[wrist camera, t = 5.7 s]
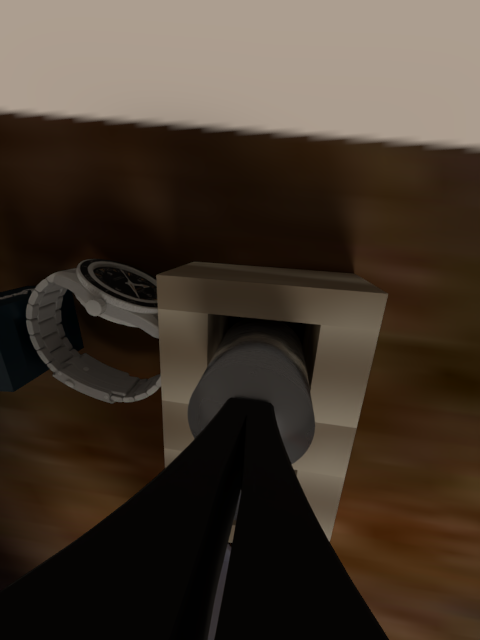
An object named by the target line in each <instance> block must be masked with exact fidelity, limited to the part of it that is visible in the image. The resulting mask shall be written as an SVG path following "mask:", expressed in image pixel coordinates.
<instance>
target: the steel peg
mask: <svg viewBox="0 0 480 640" xmlns="http://www.w3.org/2000/svg"><path fill="white" fill-rule="evenodd" d="M231 397H232V398H239V399H246V400H254V401H261V402H268V403H271V404H272V405H273V406H274V411H275V417H276V421H277V425H278V428H279V431H280V435H281V438H282V441H283V443H284V446H285V449H286V451H287V454H288V456H289V459H290V462H291V464H293V463H295V462H296V461H297V460H299V459H300V458H301V457H302V456H303V455H304V454H305V453H306V451H307V450H308V448H309V447H310V445H311V443H312V440H313V437H314V433H315V417H314V411H313V405H312V399H311V393H310V387H309V381H308V375H307V369H306V363H305V357H304V352H303V347H302V344H301V341H300V339H299V338H298V336H297V335H296V333H295V332H294V331H293V330H292V329H291V328H290V327H289V326H288V325H286V324H285V323H283V322H281V321H277V320H267V319H257V318H246V319H243V320H241V321H239V322H237V323H236V324H234V325H233V326H232V327H231V328H230V329H229V330H228V331H227V333H226V334H225V336H224V338H223V339H222V341H221V343H220V345H219V347H218V348H217V350H216V352H215V354H214V356H213V357H212V359H211V361H210V363H209V365H208V366H207V368H206V370H205V372H204V374H203V375H202V377H201V379H200V381H199V383H198V384H197V386H196V388H195V390H194V391H193V393H192V395H191V398H190V400H189V405H188V413H187V415H188V423H189V427H190V430H191V433H192V435H193V437H194V439H195V438H196V437H197V436H198V435H199V434H200V432H201V431H202V430H203V429H204V428H205V427H206V426H207V425H208V423H209V422H210V421H211V420H212V419H213V418H214V416H215V415H216V414H217V413H218V411H219V410H220V409H221V407H222V406H223V405H224V403H225V402H226V401H227V400H228V399H229V398H231Z"/></svg>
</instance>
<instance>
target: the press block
mask: <svg viewBox="0 0 480 640" xmlns="http://www.w3.org/2000/svg"><path fill="white" fill-rule="evenodd" d="M156 280H157V302H158V324H159V346H160V368H161V391H162V413H163V435H164V457H165V468H166V467H167V466H168V465H169V464H170V463H171V462H172V461H173V460H174V459H175V458H176V457H177V456H178V455H179V454H180V453H181V452H182V451H183V450H184V449H185V448H186V447H187V446H188V445H189V444H190V443H191V442H192V441H193V440H194V437H193V435H192V433H191V430H190V427H189V423H188V415H187V413H188V405H189V400H190V398H191V395H192V393H193V391H194V390H195V388H196V386H197V384H198V383H199V381H200V379H201V377H202V375H203V374H204V372H205V370H206V368H207V366H208V365H209V363H210V361H211V359H212V357H213V356H214V354H215V352H216V350H217V348H218V347H219V345H220V343H221V341H222V339H223V338H224V336H225V334H226V333H227V331H228V324H229V316H237V317H247V318H257V319H267V320H277V321H287V322H297V323H306V324H305V332H304V339H303V346H302V347H303V352H304V357H305V363H306V369H307V375H308V381H309V387H310V393H311V399H312V405H313V411H314V417H315V433H314V437H313V440H312V443H311V445H310V447H309V448H308V450H307V451H306V453H305V454H304V455H303V456H302V457H301V458H300V459H299V460H297V461H296V462H295V463H293V464H292V467H293V469H294V471H295V474H296V476H297V478H298V480H299V483H300V485H301V487H302V489H303V491H304V494H305V496H306V498H307V500H308V502H309V504H310V506H311V508H312V510H313V512H314V514H315V516H316V518H317V520H318V522H319V524H320V525H321V527H322V529H323V531H324V533H325V535H326V536H327V538H328V540H329V542H330V538H331V534H332V530H333V526H334V521H335V517H336V513H337V509H338V504H339V500H340V496H341V492H342V487H343V483H344V479H345V475H346V471H347V466H348V462H349V458H350V454H351V449H352V445H353V441H354V437H355V432H356V428H357V424H358V420H359V415H360V411H361V407H362V403H363V398H364V394H365V390H366V386H367V381H368V377H369V373H370V369H371V365H372V360H373V356H374V352H375V348H376V343H377V339H378V335H379V331H380V326H381V322H382V318H383V314H384V309H385V305H386V301H387V297H388V294H387V293H386V292H384V291H383V290H381V289H379V288H378V287H376V286H374V285H373V284H371V283H369V282H368V281H366V280H364V279H363V278H361V277H359V276H358V275H356V274H354V273H341V272H327V271H314V270H300V269H287V268H274V267H260V266H247V265H234V264H220V263H207V262H191V263H188V264H186V265H183V266H180V267H177V268H174V269H171V270H168V271H166V272H163V273H160V274H157V275H156ZM235 525H236V520H233V525H232V529H231V533H230V537H229V541H228V542H230V543H232V542H233V537H234V531H235Z"/></svg>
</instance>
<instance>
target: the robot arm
mask: <svg viewBox="0 0 480 640" xmlns="http://www.w3.org/2000/svg"><path fill="white" fill-rule="evenodd" d="M240 491H241V497H240V503H239V508H238V514H237V520H236V525H235V531H234V537H233V542H232V548H231V547H230V545H229V544H228V541H229V537H230V533H231V529H232V525H233V520H234V516H235V512H236V508H237V504H238V500H239V496H240ZM0 640H389V639H388V637H387V636H386V634H385V633H384V631H383V629H382V628H381V626H380V625H379V623H378V621H377V620H376V618H375V617H374V615H373V614H372V612H371V610H370V609H369V607H368V606H367V604H366V602H365V601H364V599H363V598H362V596H361V595H360V593H359V591H358V590H357V588H356V587H355V585H354V583H353V582H352V580H351V579H350V577H349V575H348V573H347V572H346V570H345V568H344V566H343V565H342V563H341V561H340V560H339V558H338V556H337V554H336V553H335V551H334V549H333V547H332V546H331V544H330V542H329V540H328V538H327V536H326V535H325V533H324V531H323V529H322V527H321V525H320V524H319V522H318V520H317V518H316V516H315V514H314V512H313V510H312V508H311V506H310V504H309V502H308V500H307V498H306V496H305V494H304V491H303V489H302V487H301V485H300V483H299V480H298V478H297V476H296V474H295V471H294V469H293V467H292V464H291V462H290V459H289V456H288V454H287V451H286V449H285V446H284V443H283V441H282V438H281V435H280V431H279V428H278V425H277V421H276V417H275V411H274V406H273V405H272V404H271V403H268V402H261V401H254V400H246V399H239V398H232V397H231V398H229V399H228V400H227V401H226V402H225V403H224V405H223V406H222V407H221V409H220V410H219V411H218V413H217V414H216V415H215V416H214V418H213V419H212V420H211V421H210V422H209V423H208V425H207V426H206V427H205V428H204V429H203V430H202V431H201V432H200V434H199V435H198V436H197V437H196V438H195V439H194V440H193V441H192V442H191V443H190V444H189V445H188V446H187V447H186V448H185V449H184V450H183V451H182V452H181V453H180V454H179V455H178V456H177V457H176V458H175V459H174V460H173V461H172V462H171V463H170V464H169V465H168V466H167V467H166V468H165V469H164V470H163V471H162V472H161V473H159V474H158V475H157V476H156V477H155V478H154V479H153V480H152V481H151V482H149V483H148V484H147V485H146V486H145V487H144V488H142V489H141V490H140V491H139V492H138V493H136V494H135V495H134V496H133V497H132V498H130V499H129V500H128V501H127V502H126V503H124V504H123V505H122V506H120V507H119V508H118V509H116V510H115V511H114V512H113V513H111V514H110V515H109V516H107V517H106V518H105V519H104V520H102V521H101V522H100V523H98V524H97V525H96V526H94V527H93V528H92V529H90V530H89V531H88V532H86V533H85V534H84V535H82V536H81V537H79V538H78V539H77V540H75V541H74V542H72V543H71V544H70V545H68V546H67V547H65V548H64V549H62V550H61V551H59V552H58V553H56V554H55V555H53V556H52V557H50V558H49V559H48V560H46V561H45V562H43V563H42V564H40V565H39V566H37V567H36V568H34V569H33V570H31V571H30V572H28V573H27V574H25V575H24V576H22V577H21V578H19V579H18V580H16V581H15V582H13V583H12V584H10V585H9V586H7V587H6V588H4V589H3V590H1V591H0Z"/></svg>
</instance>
